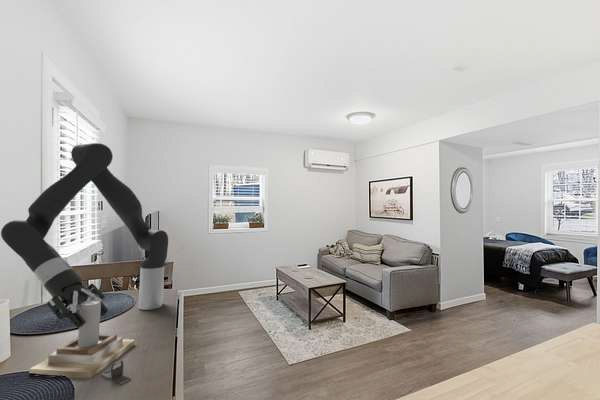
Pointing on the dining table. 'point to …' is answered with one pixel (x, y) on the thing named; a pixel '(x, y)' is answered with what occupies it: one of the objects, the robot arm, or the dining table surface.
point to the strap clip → (116, 374)
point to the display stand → (83, 357)
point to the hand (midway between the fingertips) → (94, 319)
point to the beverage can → (89, 324)
